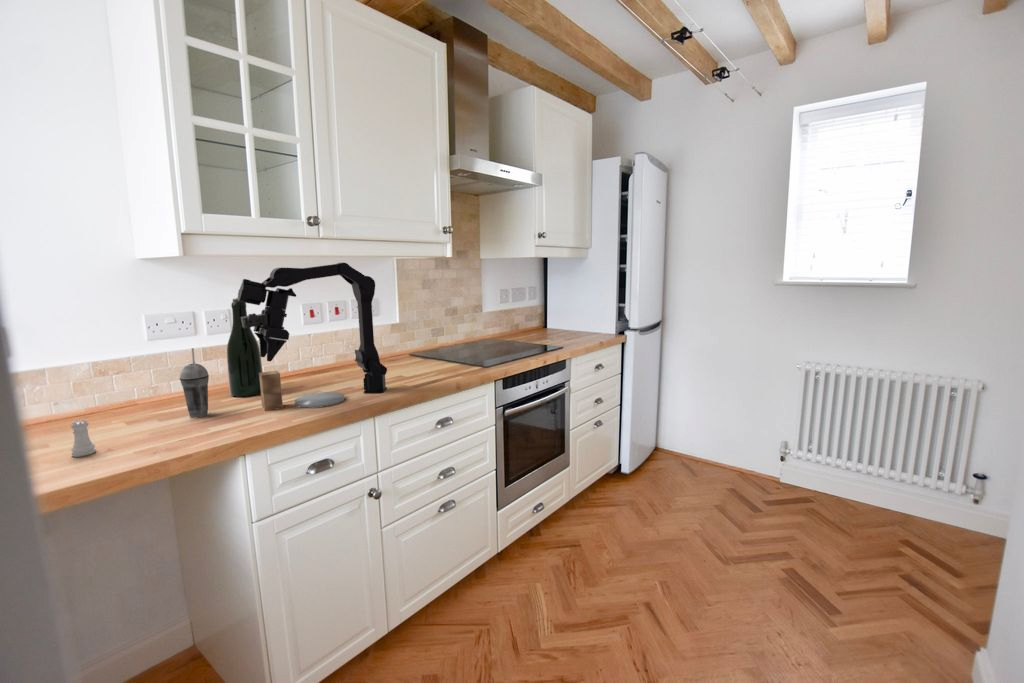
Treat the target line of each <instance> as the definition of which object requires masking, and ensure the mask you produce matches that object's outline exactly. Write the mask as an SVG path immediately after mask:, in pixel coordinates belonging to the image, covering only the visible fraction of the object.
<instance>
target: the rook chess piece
mask: <svg viewBox="0 0 1024 683" xmlns="http://www.w3.org/2000/svg"><path fill="white" fill-rule="evenodd" d="M89 425H90V423H89V422H87V420H86V419H81V421H80V420H79V419H78V420H76V421H75V420H74V421H72V422H71V426H70V428H72V430H73V431H72V433H73V436H74V438H73V439H74V441H73V444H72V448H71V449H70V450H71V451H70V452H72V453H71V454H70V455H71V456H72V457H73V458H82V457H86V456H91V455H92V454H94V453H95V452H96V451H97V448H96V445H95V443H93V442H92V441H91V439H90V436H89V429H88V426H89Z"/></svg>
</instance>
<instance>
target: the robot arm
mask: <svg viewBox="0 0 1024 683" xmlns="http://www.w3.org/2000/svg"><path fill="white" fill-rule="evenodd" d="M335 276H336V277H337V276H340V277H341V278H342V279H343V280H344V281H345V282H346V283H348V284H349V285H351V289H352V293H353V296H354V298H355V301H356V303H357V311H358V315H357V316H358V328H359V343H360V344H359V348H358V349H354V354H355V359H354V362H356V363H357V364H356V365H357V366H358V367H359V368H360V369H362V371H363V373H365V374H364V377H363V380H362V381H363V393H364V394H379V393H380V394H382V393H384V392H385V391H386V390H388V386H386V385H387V384H386V375H387V371H388V368H387V367H386V366H385V365H383V364H382V363H381V361H380V360H381V359H380V355H379V352H378V350H377V347H376V345H375V337H374V322H373V320H374V319H373V304H372V302H373V299H374V297H375V292H376V291H375V290H376V281H375V279H374V278H373V277H371V276H369V275H365V274H363V273H362V272H360V271H358V270H357V269H355V268H354V267H352V266H351V265H350V264H348V263H347V262H338V263H333V264H325V265H317V266H310V267H303V268H302V267H301V268H300V267H275V268H273V269H272V270H271V272H270V275H269V277H267V278H266V279H265V280H263V281H262V282H258V281H252V280H250V279H246V278H243V279H242V282H241V284H240V288H239V289H238V292H237V298H238V301H239V302H244V303H246V304H251V305H256V306H260V305H261V304H263V303H265V307H264V309H261V313H259V314H256V313H254V312H253V313H248V314H247V316H244V317H241V322H242V327H243V328H253V332H254V335H255V336H256V337H257V338H258V339H259V340H258V342H259V349H260V356H261V358H265V357H266V361H267V362H272V361H273V360H274V358H275V357H276V355H277V354H278V352H279V351H280V350H281V349H282V347H283V346H284V345H285V343H287V341H289V339H290V338H289V337H290V332H289V331H288V330H287V329H285V327H284V326H283V325H284V323H285V318H287V315H288V313H286V311H287V307H288V302H289V297H294V298H295V297H297V294H296V292H294V290H293V288H291V287H290V286H293V285H297V284H298V283H302V282H304V281H307V280H308V281H309V280H315V279H322V278H327V277H335ZM280 287H282V288H280ZM283 287H289V288H287V289H284V288H283ZM268 288H272V289H274V288H276V289H275V290H272V289H268Z"/></svg>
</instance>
